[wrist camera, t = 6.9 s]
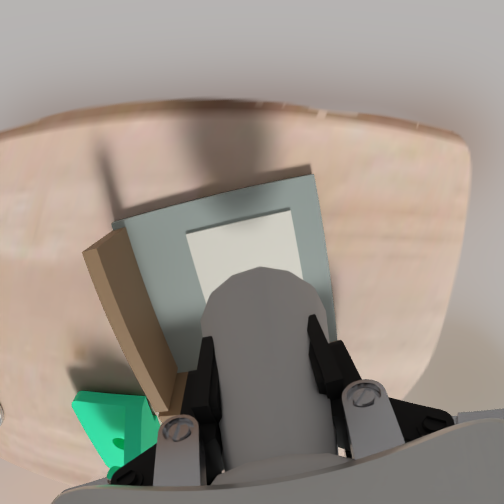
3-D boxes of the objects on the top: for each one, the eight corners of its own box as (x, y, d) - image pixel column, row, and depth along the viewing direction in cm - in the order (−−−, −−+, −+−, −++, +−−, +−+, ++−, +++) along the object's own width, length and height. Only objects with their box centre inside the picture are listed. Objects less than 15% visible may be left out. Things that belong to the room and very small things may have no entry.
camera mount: (77, 382, 25) (37, 458, 15) (148, 388, 25) (121, 478, 16) (114, 454, 29) (95, 520, 19) (174, 459, 29) (164, 533, 19)
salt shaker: (229, 234, 15) (206, 511, 3) (332, 273, 16) (474, 492, 4) (192, 331, 17) (147, 567, 4) (286, 359, 18) (332, 575, 5)
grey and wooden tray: (174, 378, 25) (163, 425, 19) (114, 221, 20) (79, 243, 15) (336, 345, 24) (357, 389, 19) (311, 173, 20) (338, 181, 15)
